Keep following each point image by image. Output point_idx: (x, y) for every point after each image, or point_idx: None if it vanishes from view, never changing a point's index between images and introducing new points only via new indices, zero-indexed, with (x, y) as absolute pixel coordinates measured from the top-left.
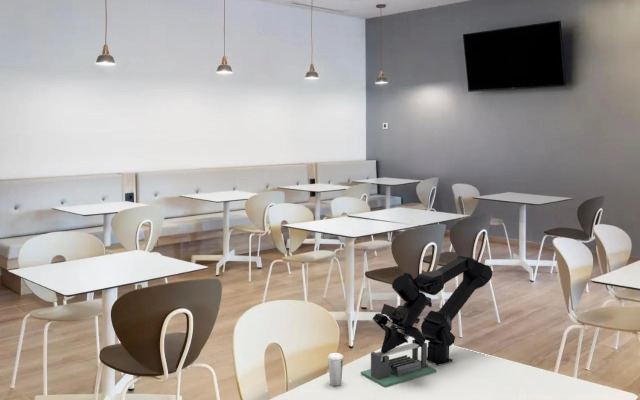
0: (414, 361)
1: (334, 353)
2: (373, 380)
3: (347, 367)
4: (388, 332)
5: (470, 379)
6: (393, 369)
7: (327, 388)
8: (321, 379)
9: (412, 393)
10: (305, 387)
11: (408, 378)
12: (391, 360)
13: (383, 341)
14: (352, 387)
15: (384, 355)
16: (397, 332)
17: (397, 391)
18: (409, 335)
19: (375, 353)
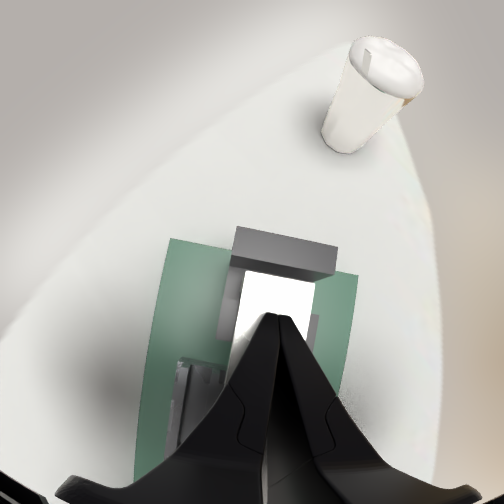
0: None
1: (409, 66)
2: None
3: (430, 290)
4: (331, 481)
5: None
6: (217, 369)
7: (329, 99)
8: (398, 141)
9: (59, 277)
10: None
11: (143, 385)
12: None
13: (328, 381)
14: (277, 151)
15: (238, 308)
16: (78, 479)
17: (110, 249)
18: (6, 499)
19: (295, 252)
